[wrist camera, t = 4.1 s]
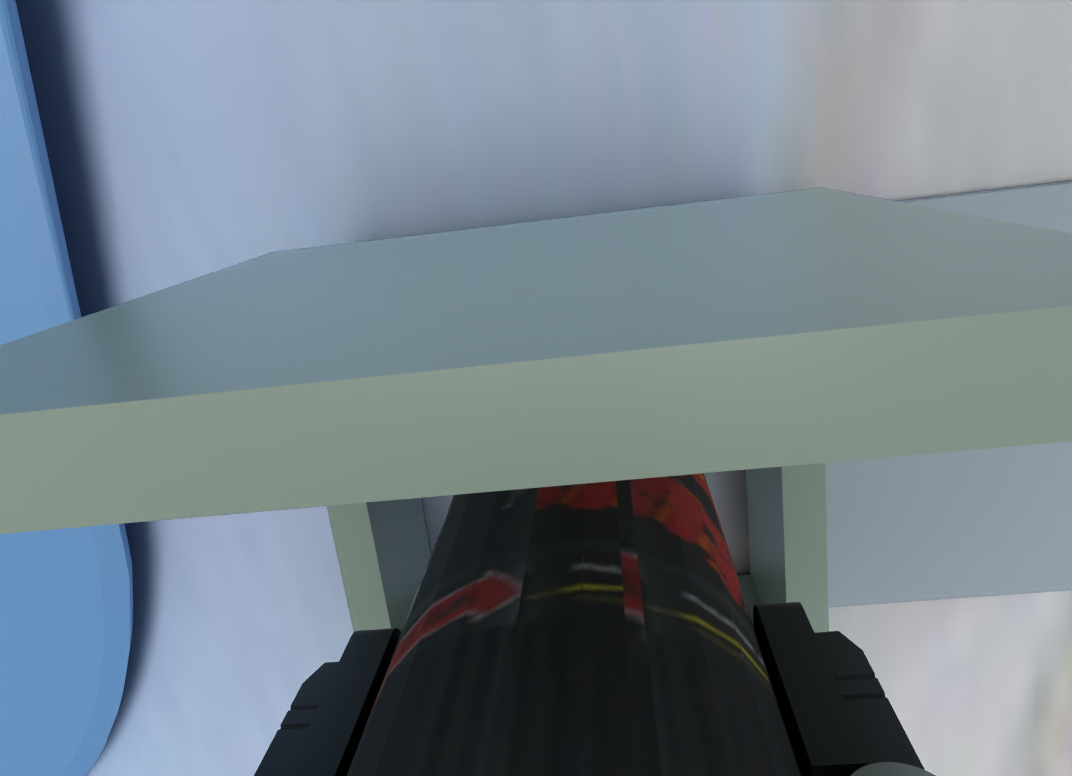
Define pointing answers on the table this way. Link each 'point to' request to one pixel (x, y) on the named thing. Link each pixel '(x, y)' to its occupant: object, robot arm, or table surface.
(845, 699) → the robot arm
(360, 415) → the case
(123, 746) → the table surface
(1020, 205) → the mat
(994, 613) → the table surface
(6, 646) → the island diorama
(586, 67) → the table surface
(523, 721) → the deodorant
